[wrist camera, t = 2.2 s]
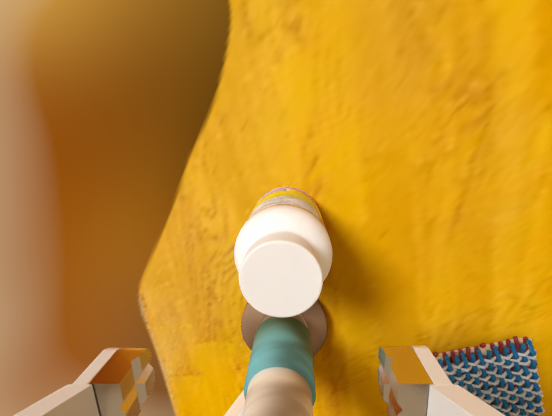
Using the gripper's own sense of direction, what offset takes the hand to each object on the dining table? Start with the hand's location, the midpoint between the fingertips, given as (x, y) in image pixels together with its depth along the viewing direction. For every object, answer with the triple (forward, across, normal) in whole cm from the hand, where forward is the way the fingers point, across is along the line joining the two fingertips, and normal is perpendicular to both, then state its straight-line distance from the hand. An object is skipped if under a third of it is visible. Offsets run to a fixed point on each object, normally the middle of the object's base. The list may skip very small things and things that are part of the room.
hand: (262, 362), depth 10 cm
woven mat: (+19, -21, +19) cm, 34 cm away
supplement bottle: (+19, -1, 0) cm, 19 cm away
